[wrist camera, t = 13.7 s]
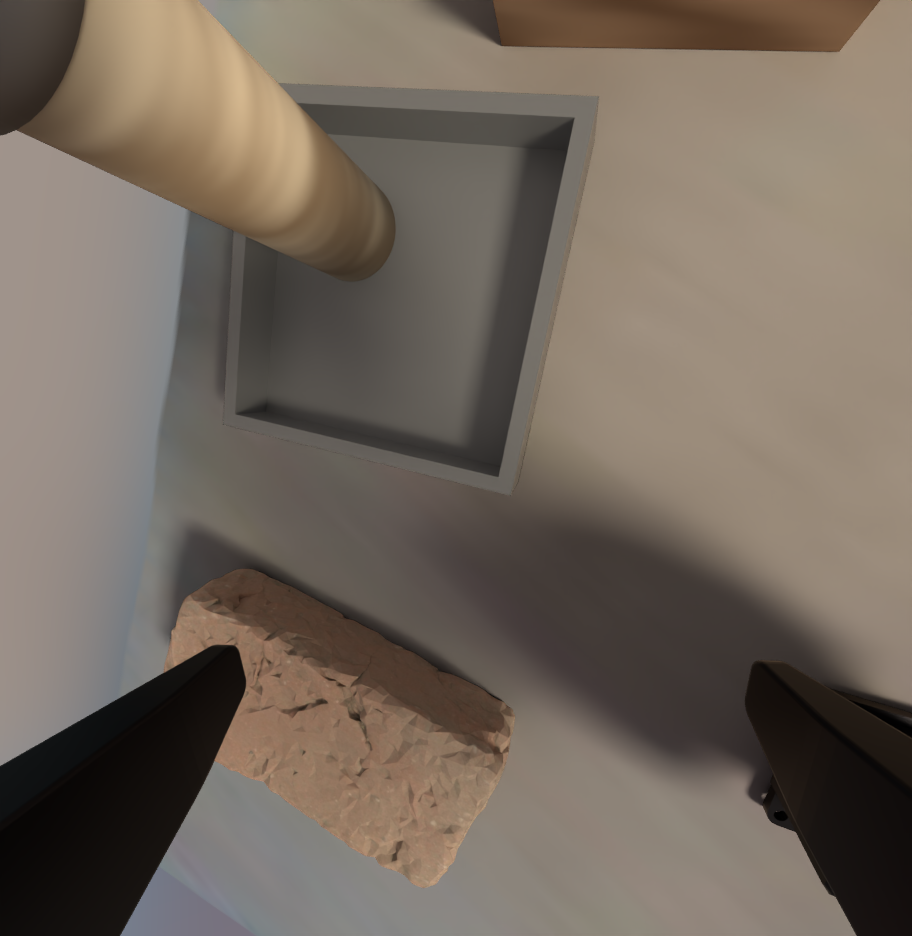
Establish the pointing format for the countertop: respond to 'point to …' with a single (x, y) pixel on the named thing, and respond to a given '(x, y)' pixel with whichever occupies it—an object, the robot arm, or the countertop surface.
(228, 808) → the countertop surface
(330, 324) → the tray
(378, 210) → the pin
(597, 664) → the countertop surface
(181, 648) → the brick
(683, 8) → the socket block
